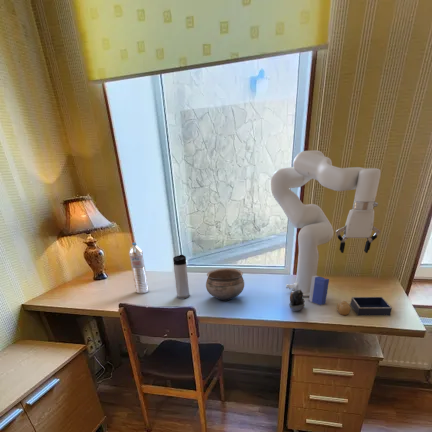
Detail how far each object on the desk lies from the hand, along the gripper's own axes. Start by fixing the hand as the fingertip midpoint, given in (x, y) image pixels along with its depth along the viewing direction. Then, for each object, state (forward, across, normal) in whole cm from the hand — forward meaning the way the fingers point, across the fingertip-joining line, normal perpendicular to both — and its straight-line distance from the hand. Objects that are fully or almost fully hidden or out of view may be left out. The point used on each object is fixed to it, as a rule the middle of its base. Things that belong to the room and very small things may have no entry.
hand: (353, 252), depth 138 cm
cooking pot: (+25, +55, -9) cm, 61 cm away
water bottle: (+25, +102, -19) cm, 106 cm away
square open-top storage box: (+23, -10, +6) cm, 26 cm away
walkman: (+24, +11, -4) cm, 27 cm away
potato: (+23, +3, +9) cm, 25 cm away
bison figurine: (-3, +26, -23) cm, 35 cm away
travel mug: (+25, +77, -12) cm, 82 cm away
